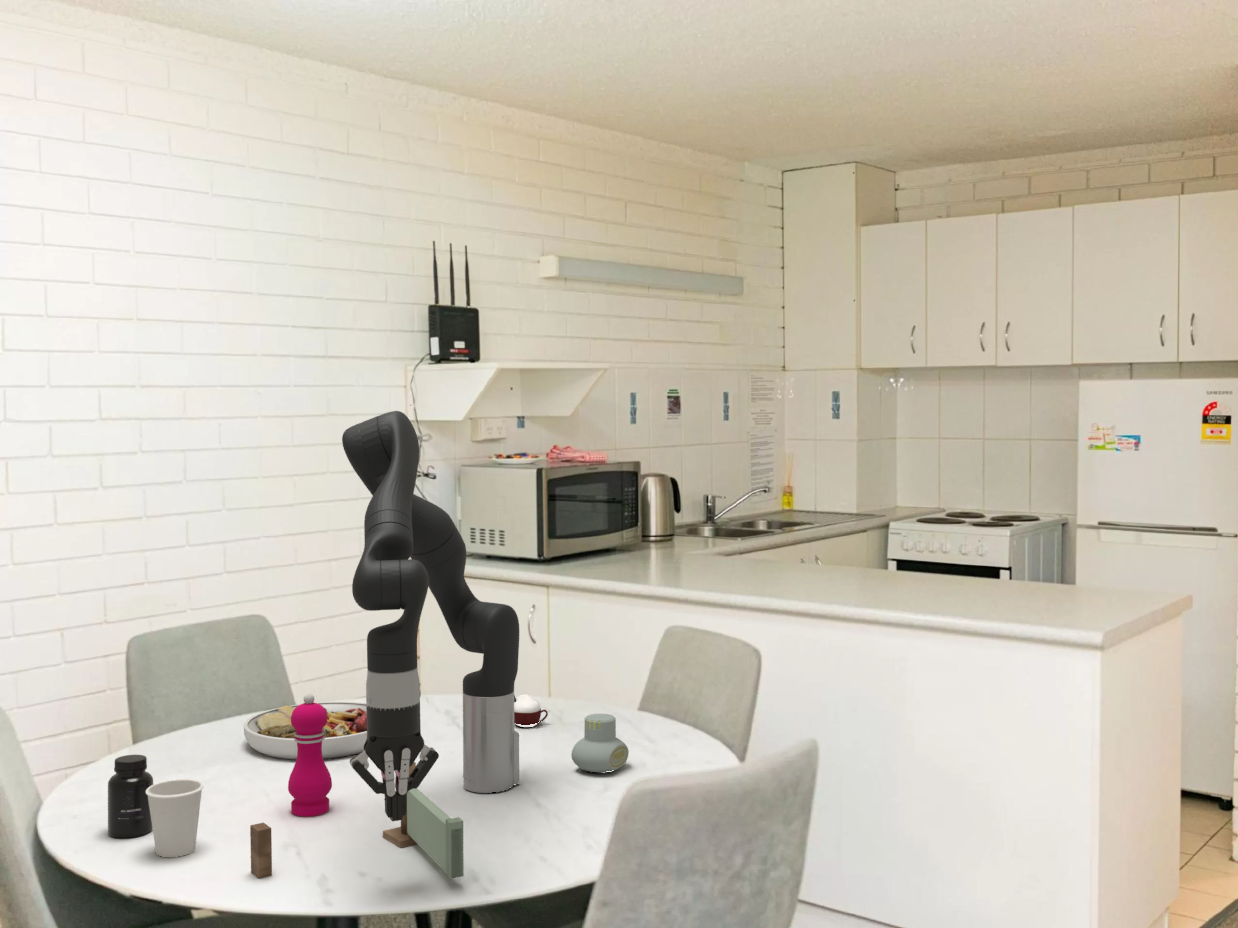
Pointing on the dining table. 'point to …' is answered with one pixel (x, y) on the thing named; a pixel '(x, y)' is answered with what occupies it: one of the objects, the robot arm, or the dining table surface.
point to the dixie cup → (175, 815)
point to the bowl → (341, 729)
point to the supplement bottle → (129, 798)
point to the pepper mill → (309, 761)
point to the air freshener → (600, 745)
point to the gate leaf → (436, 833)
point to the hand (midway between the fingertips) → (395, 818)
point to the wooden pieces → (263, 843)
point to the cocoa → (527, 710)
